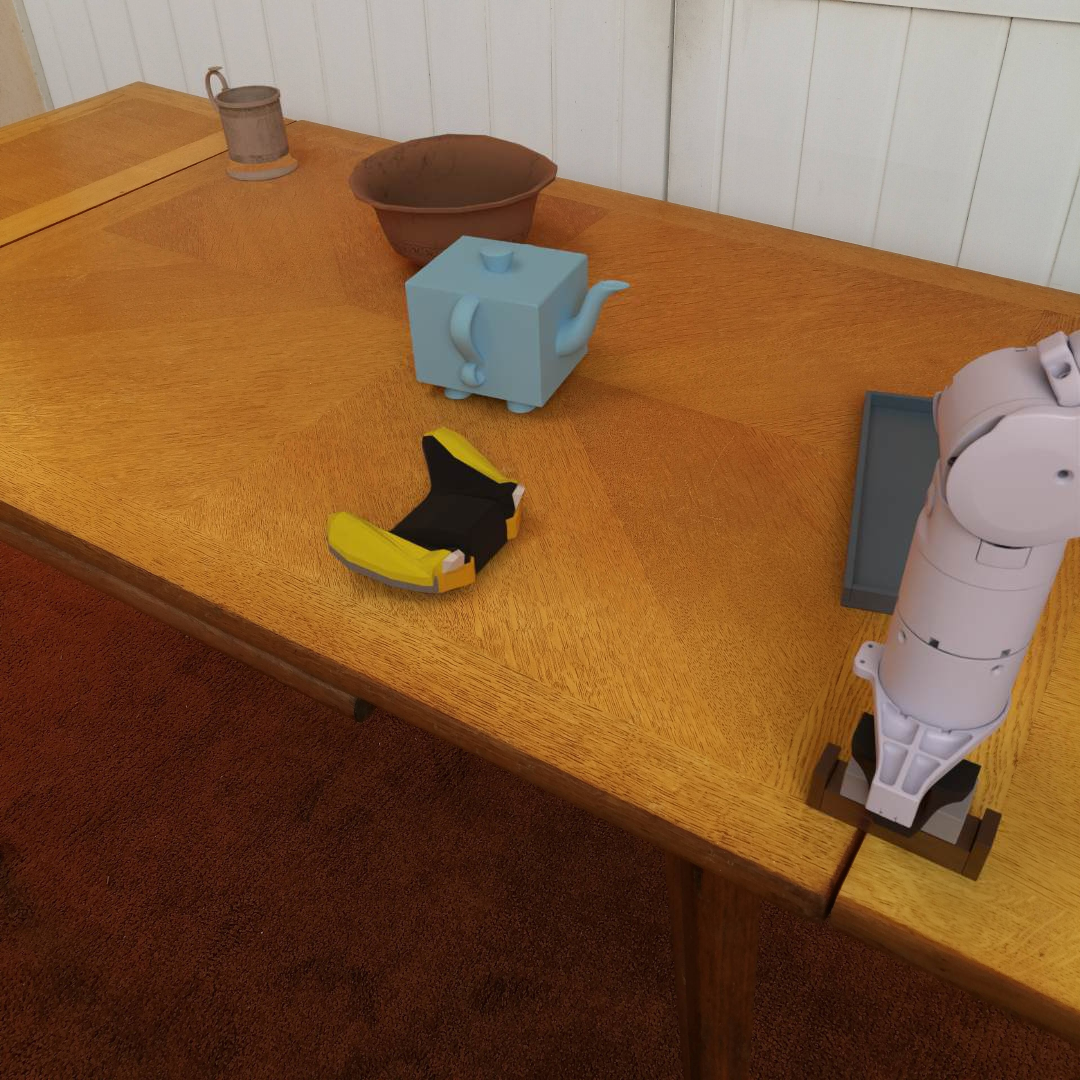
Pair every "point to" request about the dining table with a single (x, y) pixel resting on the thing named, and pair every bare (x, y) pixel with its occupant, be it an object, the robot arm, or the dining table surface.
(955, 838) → the grey block
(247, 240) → the dining table surface
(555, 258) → the teapot
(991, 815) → the brown drawer handle
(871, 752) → the robot arm
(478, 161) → the bowl
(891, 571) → the tray
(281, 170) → the mug
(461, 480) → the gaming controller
